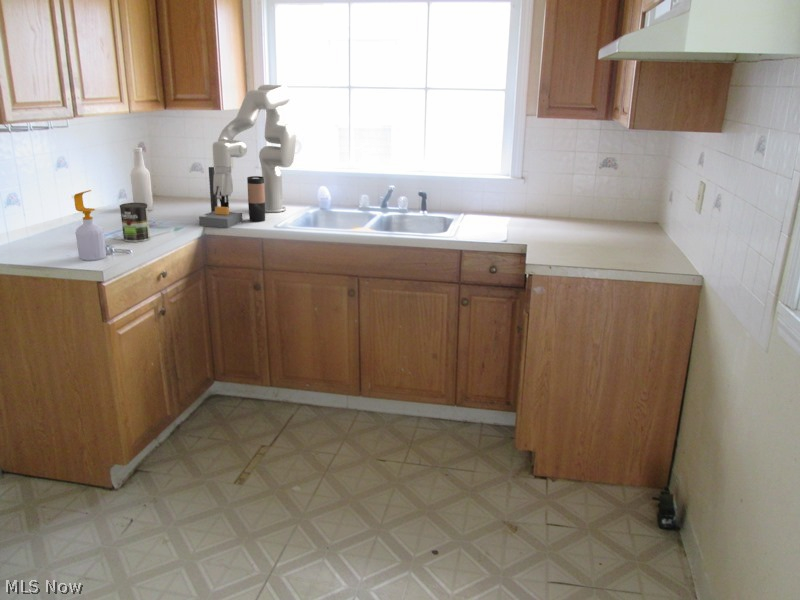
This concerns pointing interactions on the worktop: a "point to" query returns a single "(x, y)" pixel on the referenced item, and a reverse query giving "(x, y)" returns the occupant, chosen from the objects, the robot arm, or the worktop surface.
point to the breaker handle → (222, 210)
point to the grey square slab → (220, 219)
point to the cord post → (212, 196)
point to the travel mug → (256, 198)
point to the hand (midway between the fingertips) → (225, 210)
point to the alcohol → (141, 181)
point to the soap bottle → (89, 234)
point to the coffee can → (135, 222)
